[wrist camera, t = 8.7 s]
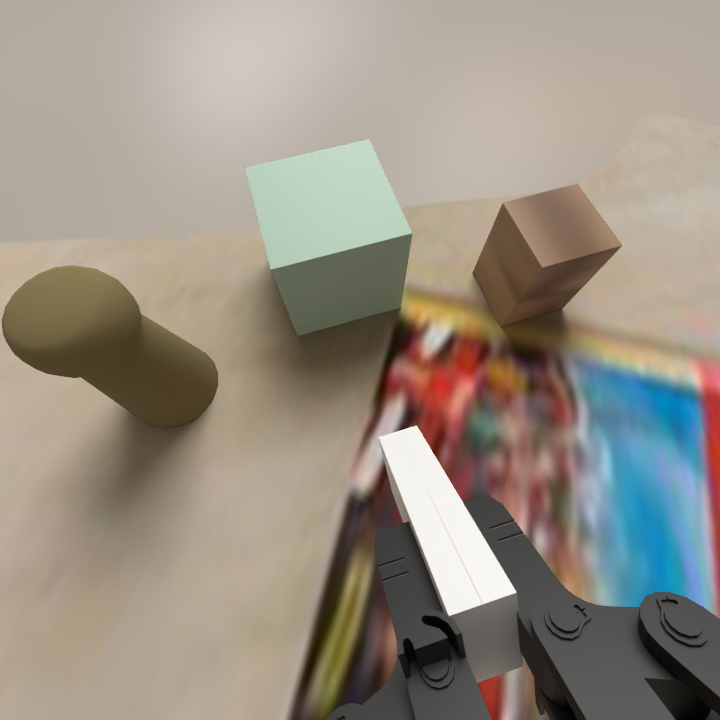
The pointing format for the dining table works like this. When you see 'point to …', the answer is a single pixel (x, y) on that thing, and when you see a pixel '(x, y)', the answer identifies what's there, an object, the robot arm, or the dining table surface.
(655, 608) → the robot arm
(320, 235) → the sage-green block
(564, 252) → the walnut block
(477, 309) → the dining table surface
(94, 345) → the olive game pawn
